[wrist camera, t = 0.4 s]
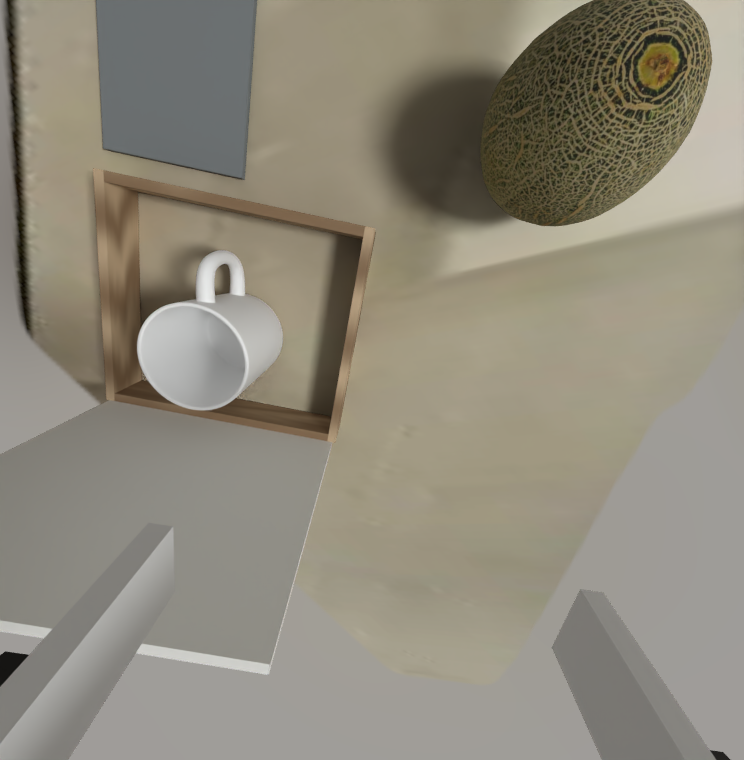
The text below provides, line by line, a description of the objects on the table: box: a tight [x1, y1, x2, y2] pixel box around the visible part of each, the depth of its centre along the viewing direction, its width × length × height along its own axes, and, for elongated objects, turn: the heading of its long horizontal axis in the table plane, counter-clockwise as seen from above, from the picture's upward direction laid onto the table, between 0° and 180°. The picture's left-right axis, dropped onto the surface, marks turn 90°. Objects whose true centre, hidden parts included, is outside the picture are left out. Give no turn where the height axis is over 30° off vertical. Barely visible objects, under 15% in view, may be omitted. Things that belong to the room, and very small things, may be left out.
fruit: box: [481, 0, 712, 226], centre depth 22 cm, size 11×11×15 cm
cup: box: [137, 250, 283, 410], centre depth 30 cm, size 8×12×10 cm
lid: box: [0, 400, 332, 675], centre depth 27 cm, size 3×22×24 cm, turn 79°
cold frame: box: [93, 168, 376, 443], centre depth 32 cm, size 20×23×4 cm
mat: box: [96, 0, 257, 180], centre depth 27 cm, size 16×12×1 cm
